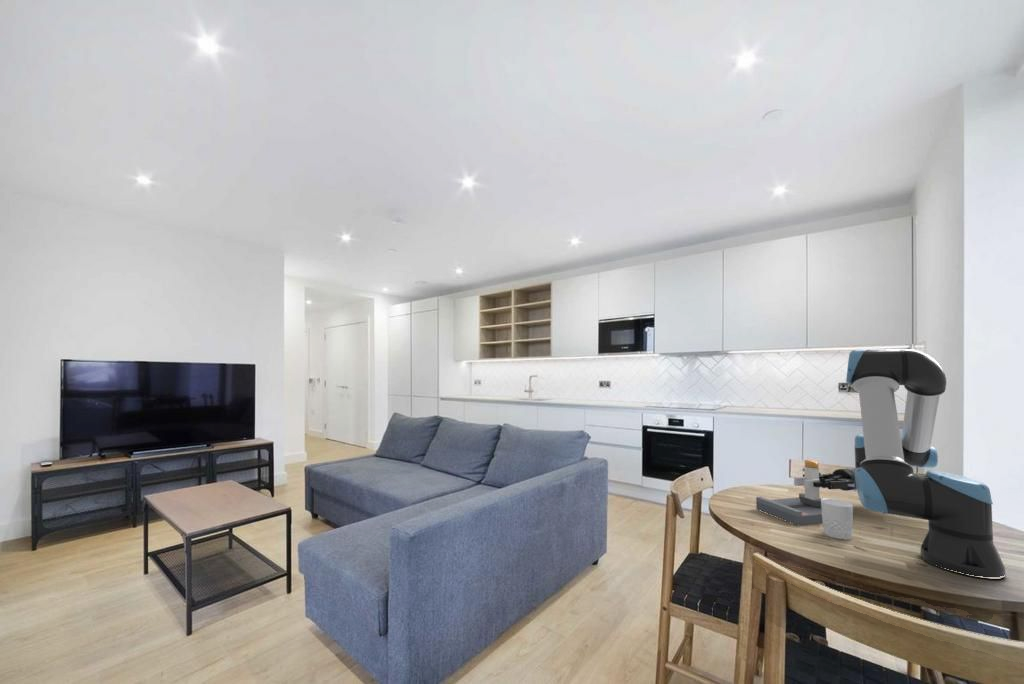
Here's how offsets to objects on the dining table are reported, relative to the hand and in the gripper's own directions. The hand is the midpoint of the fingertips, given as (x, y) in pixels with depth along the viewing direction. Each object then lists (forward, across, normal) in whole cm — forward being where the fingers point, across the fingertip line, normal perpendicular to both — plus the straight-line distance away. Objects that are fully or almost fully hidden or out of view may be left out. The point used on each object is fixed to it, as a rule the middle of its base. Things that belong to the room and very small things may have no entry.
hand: (800, 482), depth 147 cm
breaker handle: (-5, 0, -8) cm, 9 cm away
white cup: (+6, -17, -11) cm, 21 cm away
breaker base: (0, 0, -11) cm, 11 cm away
